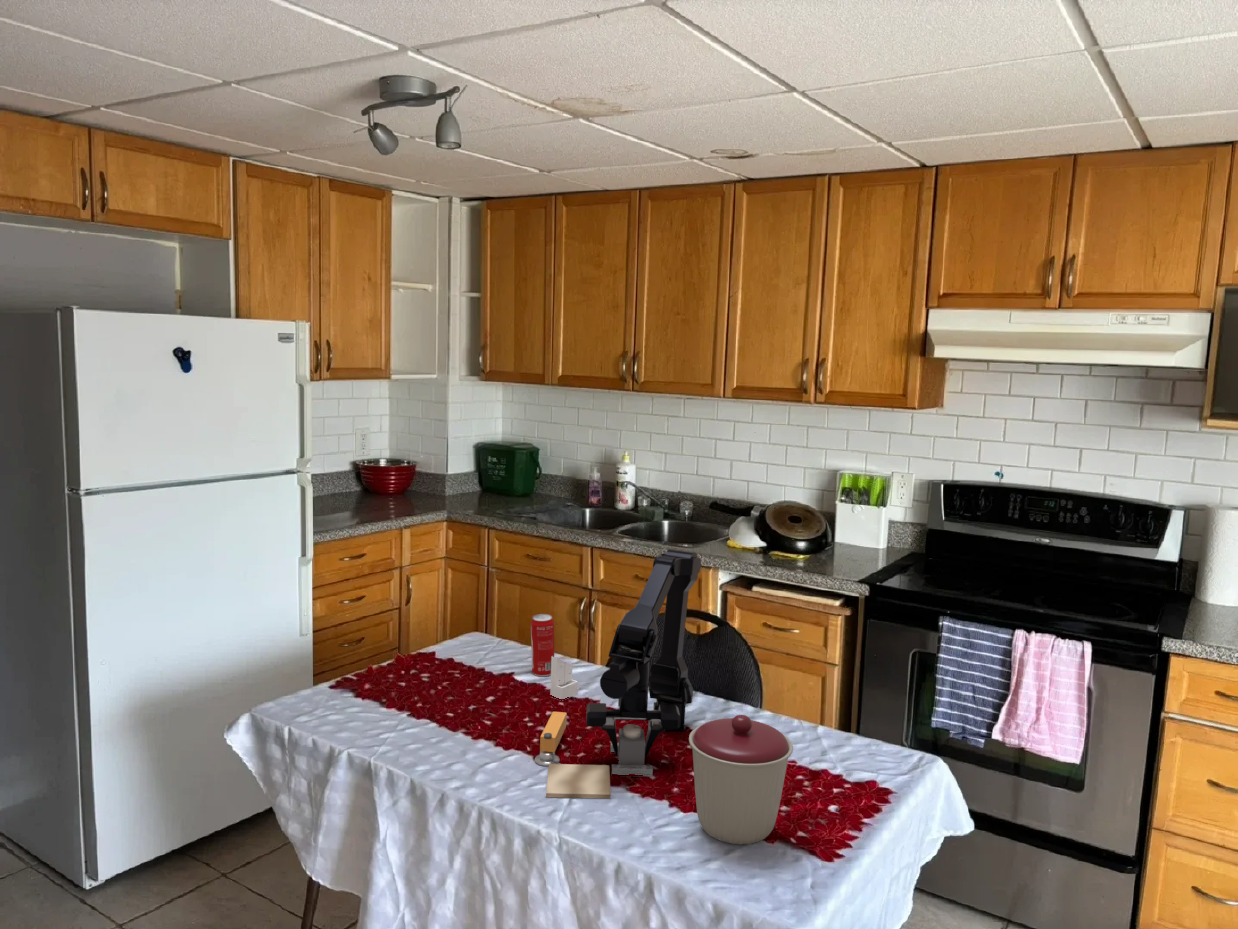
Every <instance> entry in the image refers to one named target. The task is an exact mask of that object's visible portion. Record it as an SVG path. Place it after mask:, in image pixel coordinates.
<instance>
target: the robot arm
mask: <svg viewBox="0 0 1238 929" xmlns="http://www.w3.org/2000/svg"><path fill="white" fill-rule="evenodd" d="M701 568H702V560H701V558H700V557H698V553H697V552H695V551H688V550H681V549H674V548H668V549H667V550H666V552H663V553H662V552H661V553H657V555H656V556H655V558H654V560H653V563H652V570H651V572H650V574H649V576H648V579H647V581H646V584H645V585H644V588H643V590H642V592H641V594H640V597H639V599H638V601H637V603H636V606H635V607H634V608H632V609H631V610H629V611H627V612H626V613H625V614H624V616H623V618H622V620H621V621H620V623H619V624H618V625H617V626H616V629H615V633H614V637H613V639H612V642H611V646H610V649H609V651H608V658H613V659H615V661H612V662H611V663H610V664H609V668H608V669H606V670H605V671H604V672H603V673H602V675H601V676H600V679H599V686H600V689H601V690H602V692H603V694H604V695H605V696H606V697H608V698H610V699H614V700H618V702H617V707H618V709H607V703H603V702H601V703H599V702H597V703H596V702H589V703H588V704H587V705H586V719H585V720H586V722H585V723H586V726H588V727H596V728H597V727H599V728H600V730H601V731H603V732H606V734H607V736H608V738H609V739H610V744H611V743H612V746H613V749H614V752H615V753H614V755H615V757H618V744H617V743H618V736H617V734H618V733H617V725H616V724H617V723H616V720H619V721H620V720H621V721H622V720H623V721H648V727H647V732H646V737H645V743H646V744H645V758H646V757H648V755H649V754H650V751H651V749H652V747H653V745H654V742H655V741H656V739H657V738H658V736H659V735H660V733H665V731H675V730H676V731H679V730H681V731H683V732H685V731H686V724H685V722H686V721H685V720H686V719H685V718H686V705H688V704H692V703H693V697H694V688H693V685H692V683H691V682H690V679H689V678H688V676H689V669H688V666H687V664H686V662H685V659H684V657H683V650H684V649H683V648H684V642H685V640H684V639H685V633H686V632H685V630H686V622H687V621H686V620H687V612H688V611H687V610H688V601H689V600H688V599H689V592H690V591H691V589H692V588H693V586H694V585H695V584H696V582H697V581H698V576H699V574H700V572H701ZM664 603H665V608H664V609H665V610H664V619H663V628H662V630H663V631H662V636H661V638H662V639H661V648H660V655H659V656H658V658H657V659H656V661H655V662H654V663H652V665H651V667H650V659H652V657H653V654H654V651H655V648H656V645H657V643H658V640H659V639H658V634H659V628H658V625H657V624H658V623H657V620H658V617H659V615H660V614H659V613H660V612H661V609H662V607H663V604H664ZM622 648H623V649H622ZM626 649H628V650H626ZM649 698H650V699H653V700H654V699H655V701H654V702H653V705H652V706H653V709H651V710H648V705H649V704H648V702H649ZM681 731H680V732H681ZM648 753H649V754H648Z"/></svg>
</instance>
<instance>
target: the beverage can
mask: <svg viewBox="0 0 1238 929" xmlns="http://www.w3.org/2000/svg"><path fill="white" fill-rule="evenodd" d="M530 621H531V622H530V637H531V640H530V642H531V643H530V644H531V672H532V674H533V675H535V676H537V677H548V676H551V656H553V657H555V623H554V619H553V616H552V615H551V614H547V613H539V614H535V615H532V618H531V620H530Z"/></svg>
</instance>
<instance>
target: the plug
mask: <svg viewBox="0 0 1238 929" xmlns="http://www.w3.org/2000/svg"><path fill="white" fill-rule="evenodd" d="M644 730H645V729H644V728H643V729H642V727H641V726H640V725H638V724H626V725H624V726H623V728H619V729H618V743H619V748H618V756H617V757H618V759H617V761H618V760H619V761H618V765H645V760H646V759H645V758H646V757H645V743H646V736H645V731H644Z"/></svg>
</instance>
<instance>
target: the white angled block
mask: <svg viewBox="0 0 1238 929" xmlns="http://www.w3.org/2000/svg"><path fill="white" fill-rule="evenodd" d="M573 666H574V665H573V664H571V663H569V662H566V661H565V660H563V659H560V658H558V657H556V656H554V657H553V656H551V675H550V689H549V690H550V691H549V692H550V694H549V695H552V696H554V697H556V698H559V699H565V698H567V697H569V698H571V697H573V696H576V695H578V688H579V681H577V680H574V679H573ZM556 698H555V699H556ZM567 699H568V698H567ZM565 700H566V699H565Z"/></svg>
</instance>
